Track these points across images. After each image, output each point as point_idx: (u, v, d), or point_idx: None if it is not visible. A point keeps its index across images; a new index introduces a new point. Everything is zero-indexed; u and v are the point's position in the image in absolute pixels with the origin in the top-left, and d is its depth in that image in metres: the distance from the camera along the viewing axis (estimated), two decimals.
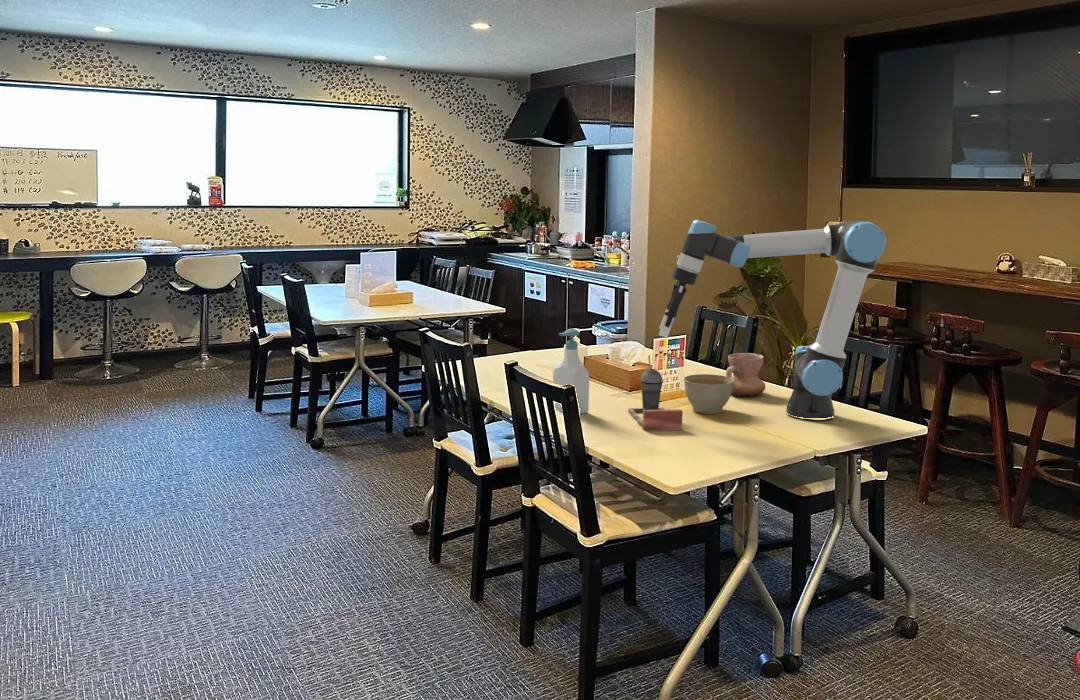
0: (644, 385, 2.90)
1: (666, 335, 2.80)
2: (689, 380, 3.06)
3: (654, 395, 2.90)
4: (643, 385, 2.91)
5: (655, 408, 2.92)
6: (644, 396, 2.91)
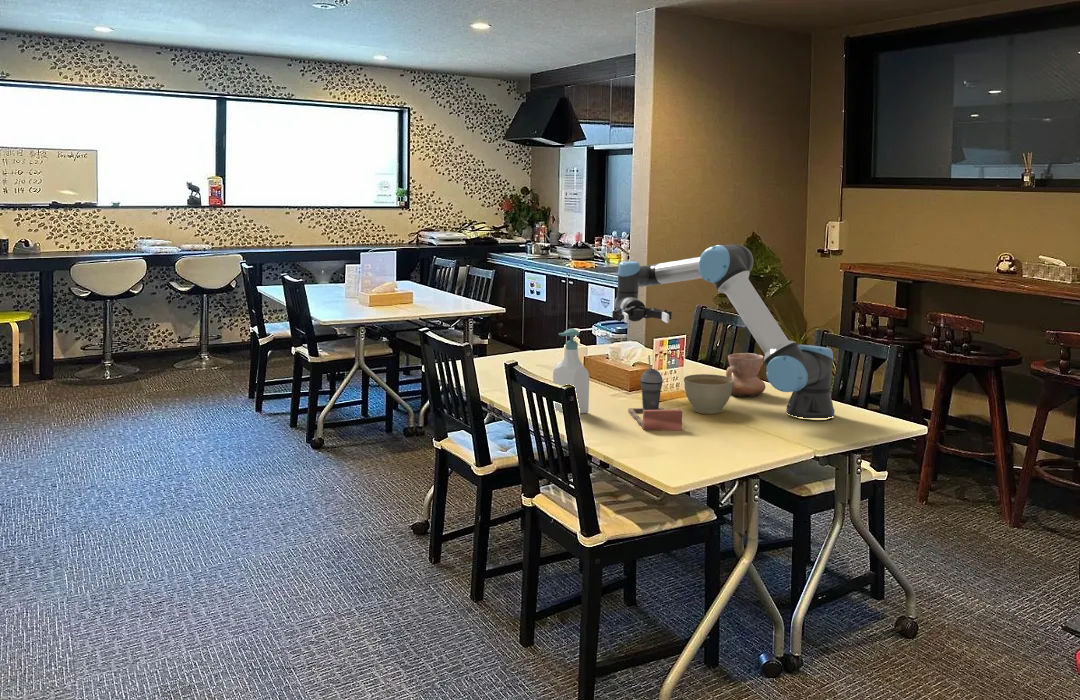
0: (644, 385, 2.90)
1: (625, 315, 2.97)
2: (689, 380, 3.06)
3: (654, 395, 2.90)
4: (643, 385, 2.91)
5: (655, 408, 2.92)
6: (644, 396, 2.91)
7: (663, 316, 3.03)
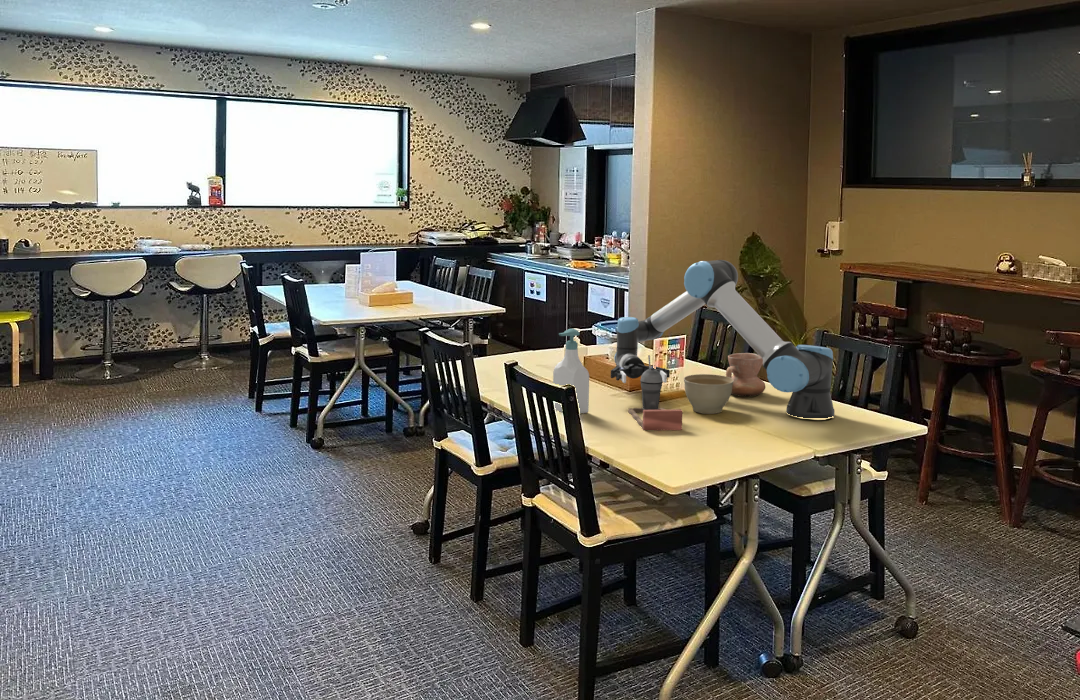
0: (644, 385, 2.90)
1: (623, 375, 2.99)
2: (689, 380, 3.06)
3: (654, 395, 2.90)
4: (643, 385, 2.91)
5: (655, 408, 2.92)
6: (644, 396, 2.91)
7: (661, 375, 3.04)
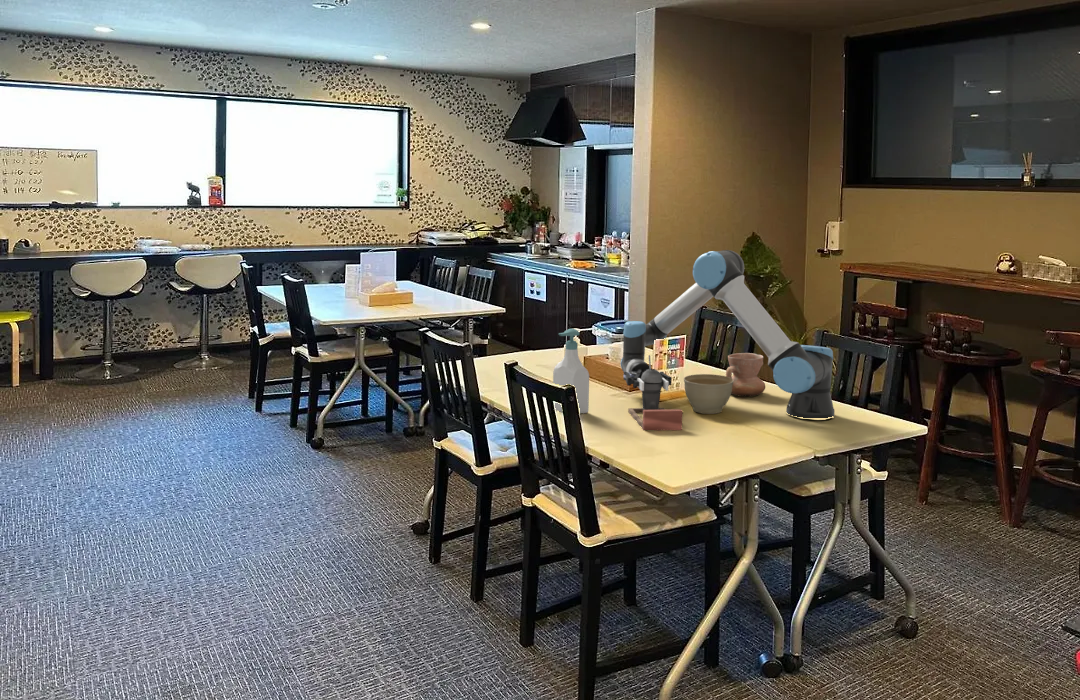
0: (644, 385, 2.90)
1: (641, 383, 2.88)
2: (689, 380, 3.06)
3: (654, 395, 2.90)
4: None
5: (655, 408, 2.92)
6: (644, 396, 2.91)
7: None
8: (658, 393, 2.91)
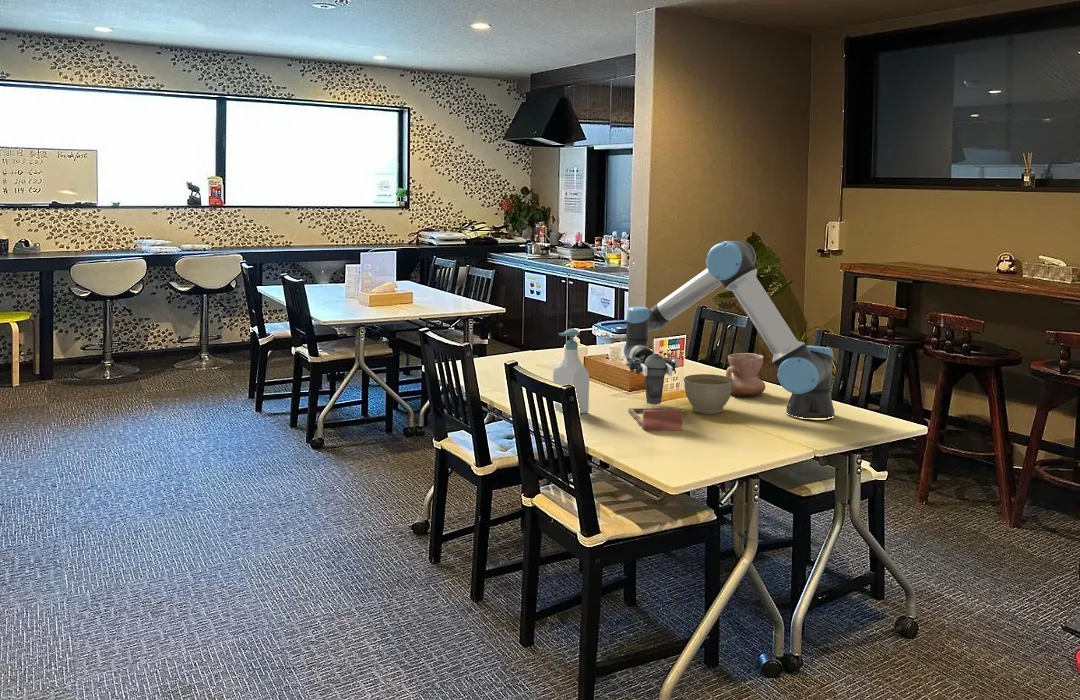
0: (647, 370, 2.84)
1: (644, 368, 2.81)
2: (689, 380, 3.06)
3: (658, 381, 2.84)
4: None
5: (659, 394, 2.85)
6: (647, 382, 2.85)
7: (666, 368, 2.86)
8: (662, 379, 2.85)
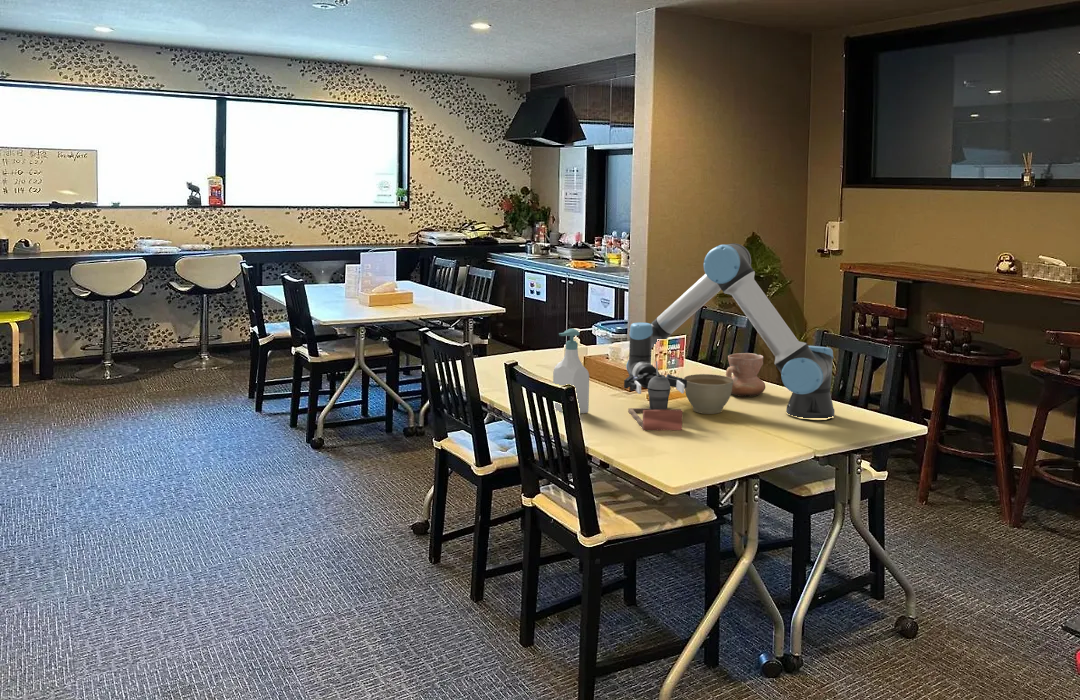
0: (651, 392, 2.80)
1: (638, 386, 2.79)
2: (689, 380, 3.06)
3: (662, 402, 2.80)
4: (650, 392, 2.81)
5: None
6: (651, 403, 2.82)
7: (678, 385, 2.84)
8: (666, 400, 2.81)
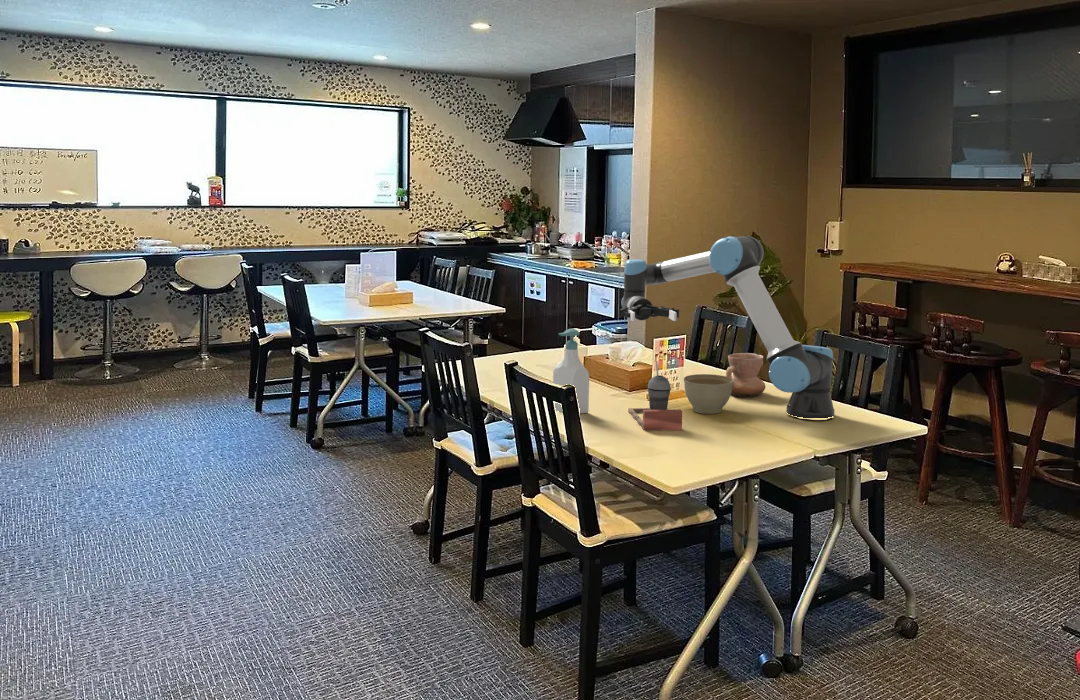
0: (651, 392, 2.80)
1: (632, 313, 2.91)
2: (689, 380, 3.06)
3: (662, 402, 2.80)
4: (650, 392, 2.81)
5: None
6: (651, 403, 2.82)
7: (670, 314, 2.97)
8: (666, 400, 2.81)
